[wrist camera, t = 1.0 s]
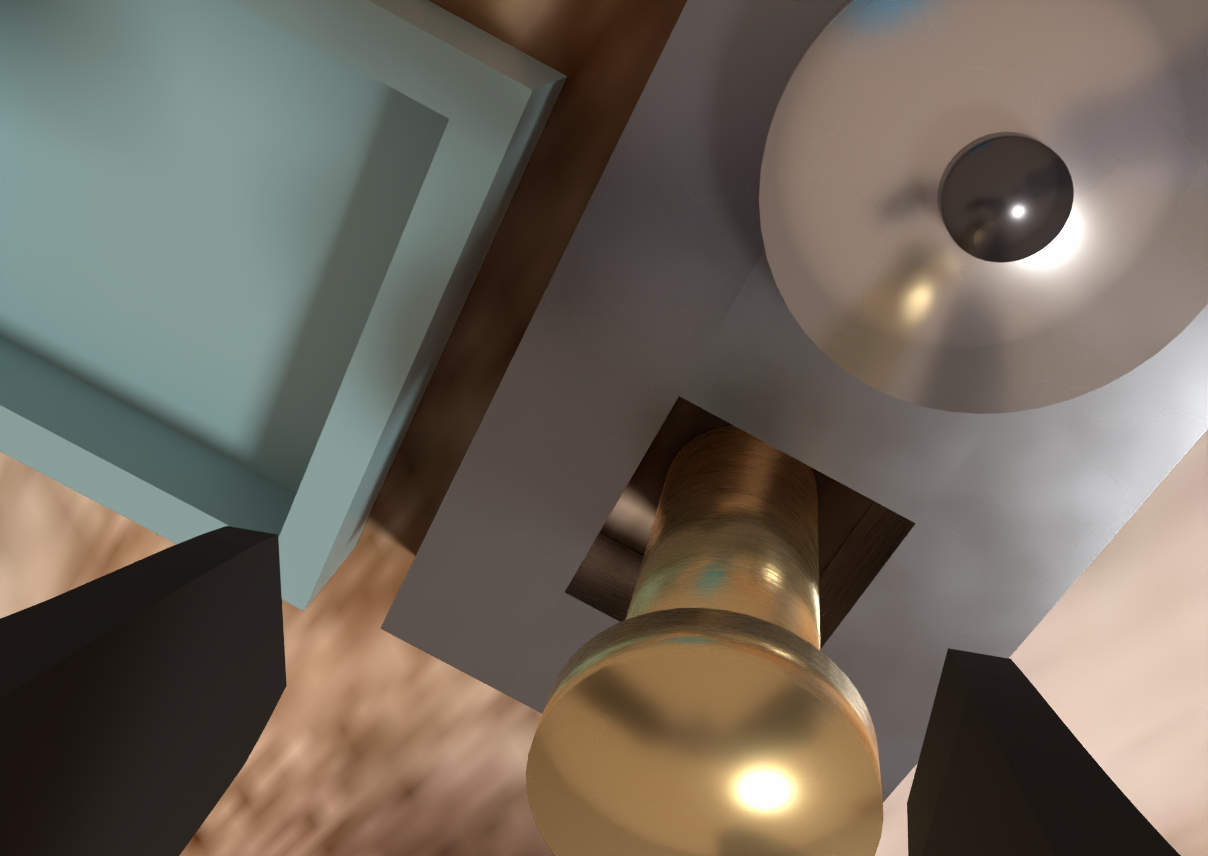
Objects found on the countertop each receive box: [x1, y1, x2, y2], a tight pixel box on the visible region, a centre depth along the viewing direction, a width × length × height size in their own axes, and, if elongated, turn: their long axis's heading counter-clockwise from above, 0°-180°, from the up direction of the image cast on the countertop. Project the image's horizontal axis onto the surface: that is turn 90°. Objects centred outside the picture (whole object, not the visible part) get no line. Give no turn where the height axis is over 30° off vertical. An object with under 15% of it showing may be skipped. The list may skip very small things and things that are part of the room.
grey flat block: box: [381, 0, 1208, 802], centre depth 17 cm, size 10×16×4 cm, turn 154°
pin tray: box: [0, 0, 567, 611], centre depth 19 cm, size 11×11×2 cm
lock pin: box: [526, 426, 883, 856], centre depth 17 cm, size 4×4×8 cm
